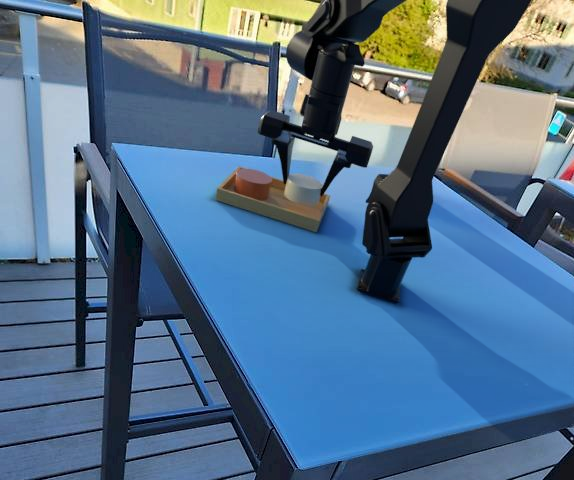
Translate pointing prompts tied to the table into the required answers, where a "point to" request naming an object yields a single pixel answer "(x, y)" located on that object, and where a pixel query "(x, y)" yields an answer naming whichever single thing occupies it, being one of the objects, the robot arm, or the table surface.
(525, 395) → the table surface
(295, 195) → the white short cylinder
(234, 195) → the serving tray
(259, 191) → the reddish-brown short cylinder
